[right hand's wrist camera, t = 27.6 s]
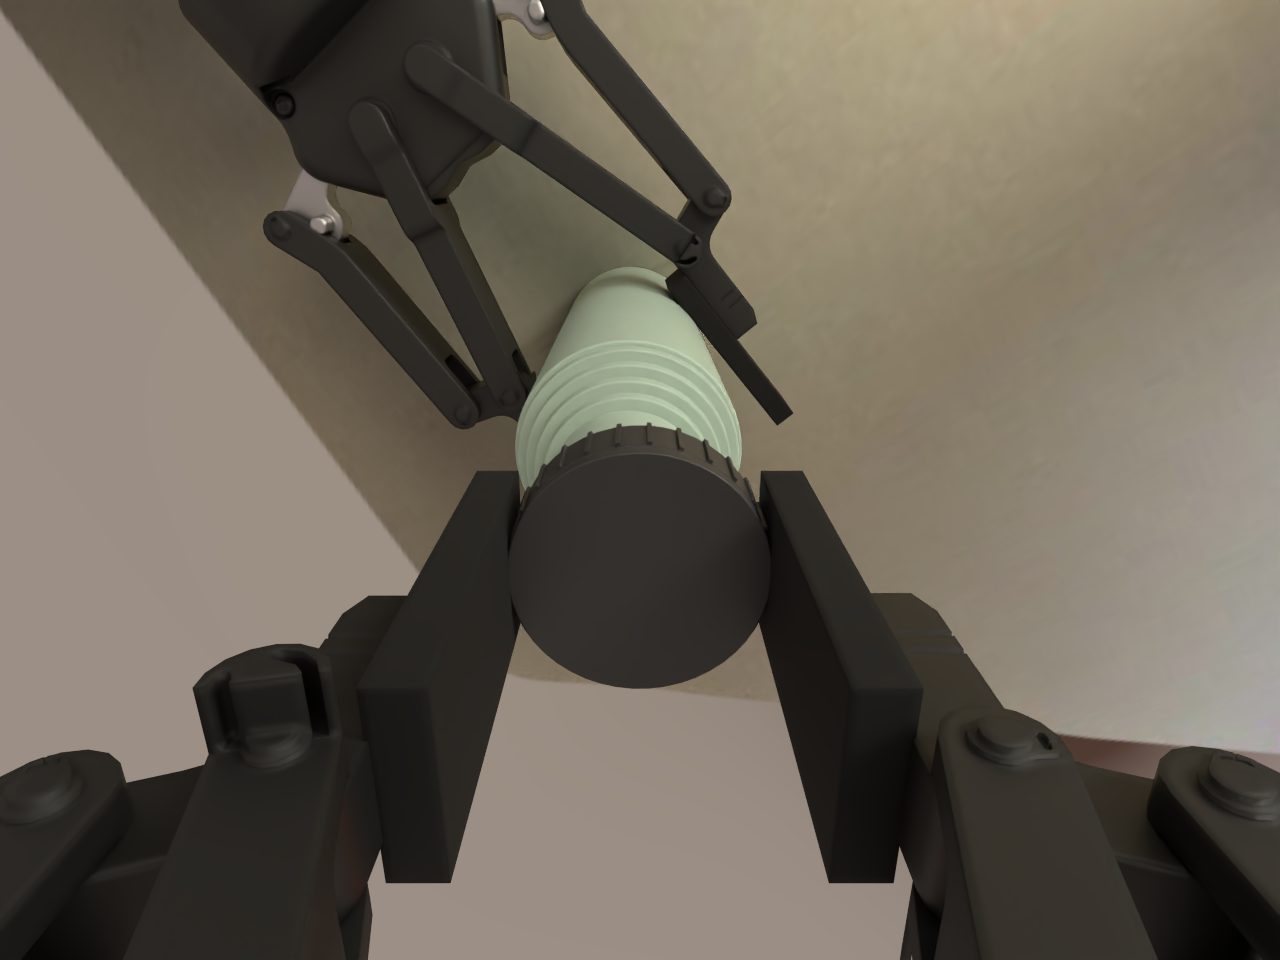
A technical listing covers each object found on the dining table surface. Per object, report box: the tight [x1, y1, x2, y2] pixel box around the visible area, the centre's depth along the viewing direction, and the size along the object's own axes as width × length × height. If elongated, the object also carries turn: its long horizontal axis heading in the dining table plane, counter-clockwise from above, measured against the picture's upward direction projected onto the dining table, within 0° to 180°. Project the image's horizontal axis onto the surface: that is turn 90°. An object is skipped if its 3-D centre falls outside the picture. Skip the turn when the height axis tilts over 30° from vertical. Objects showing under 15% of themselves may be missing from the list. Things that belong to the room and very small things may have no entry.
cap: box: [508, 422, 771, 689], centre depth 14 cm, size 5×5×2 cm
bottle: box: [515, 267, 742, 491], centre depth 25 cm, size 6×6×22 cm
